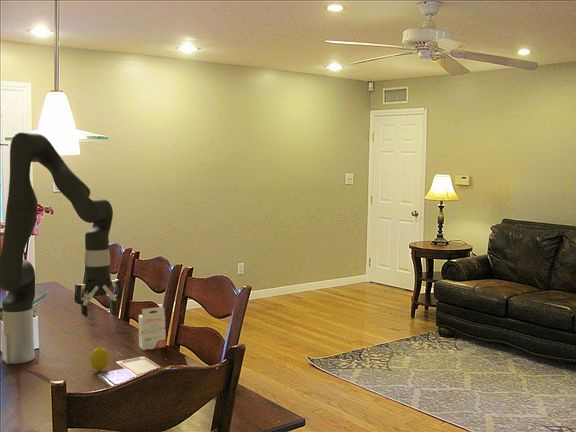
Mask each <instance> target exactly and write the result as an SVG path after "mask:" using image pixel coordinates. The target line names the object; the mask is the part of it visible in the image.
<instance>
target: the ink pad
mask: <svg viewBox="0 0 576 432" xmlns="http://www.w3.org/2000/svg"><path fill="white" fill-rule="evenodd" d="M133 377H136V375H135V374H133V373H132V372H131V371H129V370H128V369H127V368H126V369H125V368H124V369H123V368H120V369H116V370H115V369H114V370H109V371H105V372H101V373H98V379H99V380H100V381H102V382H103V383H104V384H105V385H106V386H107V387H109V388H110V387H111V386H114V385H117V384H120V383H122V382H125V381H127V380H129V379H131V378H133Z"/></svg>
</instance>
